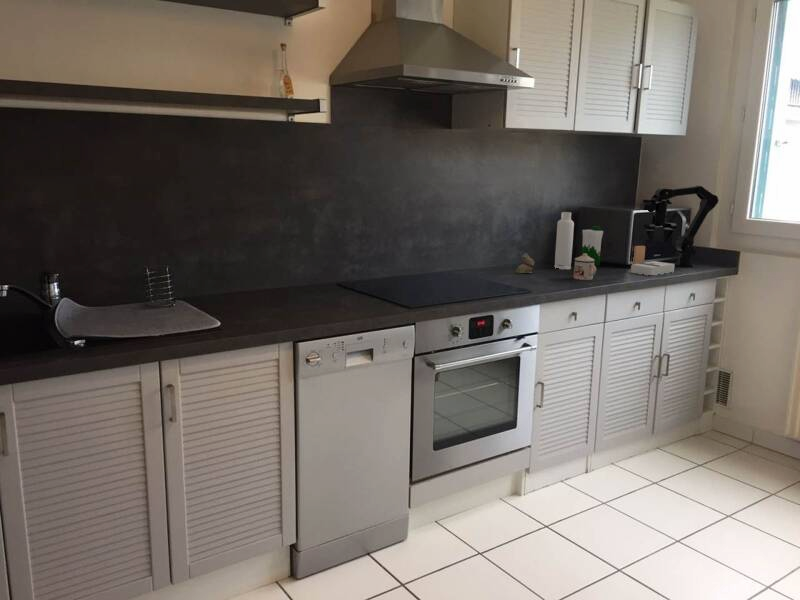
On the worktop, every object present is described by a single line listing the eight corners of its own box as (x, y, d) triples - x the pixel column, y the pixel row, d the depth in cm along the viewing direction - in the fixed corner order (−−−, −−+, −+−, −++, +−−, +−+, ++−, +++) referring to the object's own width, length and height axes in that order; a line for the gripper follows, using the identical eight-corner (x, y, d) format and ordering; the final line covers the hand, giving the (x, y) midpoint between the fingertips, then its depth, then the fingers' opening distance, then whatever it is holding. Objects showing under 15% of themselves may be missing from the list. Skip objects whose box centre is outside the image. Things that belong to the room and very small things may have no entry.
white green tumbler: (602, 265, 338) (605, 227, 334) (587, 266, 335) (590, 227, 331) (592, 263, 346) (595, 225, 342) (577, 263, 344) (580, 225, 339)
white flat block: (653, 268, 330) (654, 260, 329) (673, 272, 322) (674, 263, 321) (630, 272, 318) (631, 263, 317) (650, 276, 310) (651, 266, 309)
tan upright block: (640, 266, 336) (642, 245, 334) (643, 267, 334) (645, 246, 332) (630, 267, 334) (632, 246, 331) (634, 268, 332) (636, 246, 329)
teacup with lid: (568, 277, 302) (570, 252, 300) (583, 276, 306) (585, 251, 304) (586, 282, 292) (588, 256, 289) (602, 280, 296) (604, 255, 293)
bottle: (573, 269, 325) (577, 213, 319) (558, 269, 324) (562, 213, 318) (566, 266, 333) (570, 211, 327) (551, 267, 331) (555, 211, 325)
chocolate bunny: (530, 275, 307) (531, 254, 305) (514, 273, 312) (515, 252, 309) (534, 273, 312) (535, 252, 310) (519, 271, 316) (520, 251, 314)
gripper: (662, 211, 345) (659, 240, 348) (635, 211, 338) (632, 241, 341) (679, 213, 335) (675, 243, 338) (650, 213, 328) (647, 244, 331)
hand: (657, 243), depth 338 cm, fingers open, 9 cm apart
